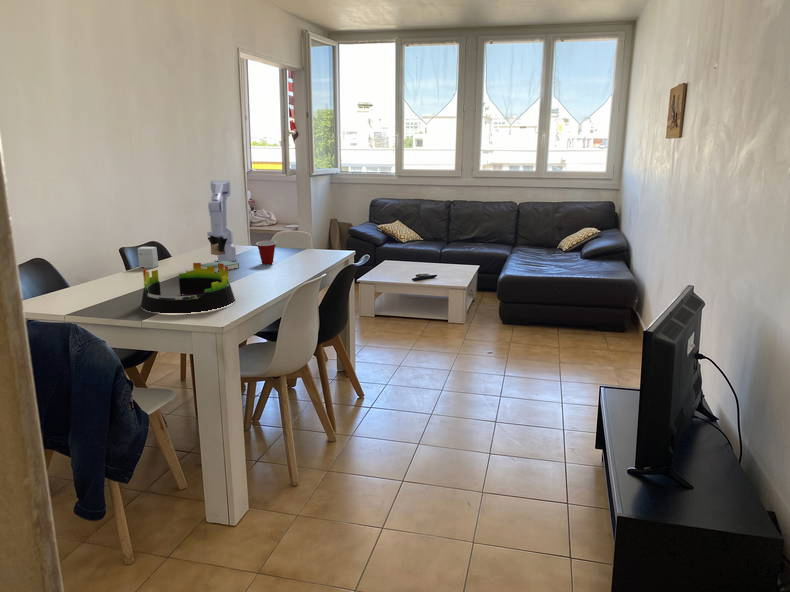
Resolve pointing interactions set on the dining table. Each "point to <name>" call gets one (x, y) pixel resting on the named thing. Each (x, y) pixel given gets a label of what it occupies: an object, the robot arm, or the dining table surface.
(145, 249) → the small box
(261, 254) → the plastic cup
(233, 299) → the decorative container
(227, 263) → the book
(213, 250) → the walnut block
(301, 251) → the dining table surface
